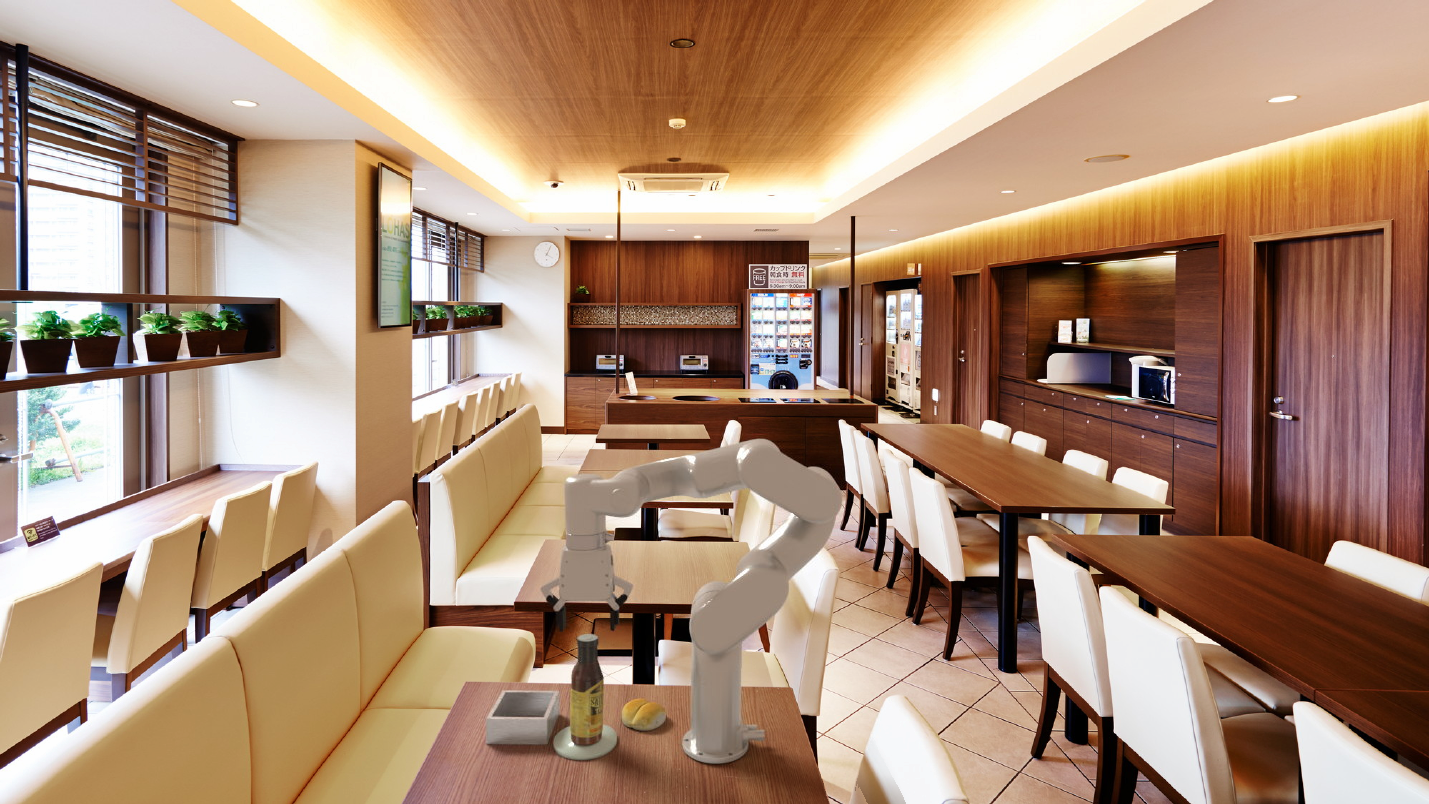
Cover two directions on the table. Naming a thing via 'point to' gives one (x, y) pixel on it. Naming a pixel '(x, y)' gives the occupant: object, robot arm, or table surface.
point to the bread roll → (643, 714)
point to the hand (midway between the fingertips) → (588, 628)
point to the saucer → (580, 752)
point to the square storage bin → (522, 727)
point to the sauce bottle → (586, 693)
